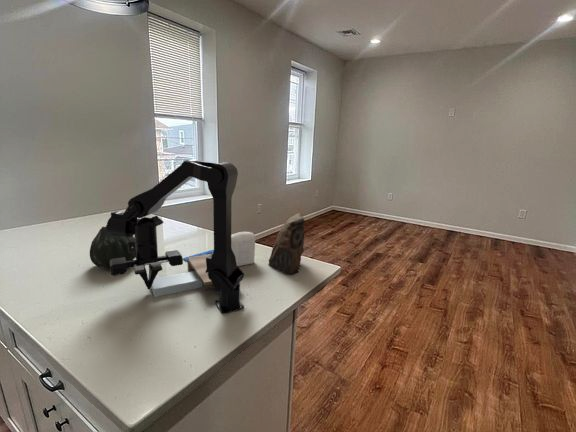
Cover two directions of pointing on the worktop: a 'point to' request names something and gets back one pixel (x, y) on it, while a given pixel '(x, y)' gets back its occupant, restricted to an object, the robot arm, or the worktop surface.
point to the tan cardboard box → (200, 269)
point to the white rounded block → (243, 247)
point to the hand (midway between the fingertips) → (149, 288)
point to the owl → (289, 246)
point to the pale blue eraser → (175, 283)
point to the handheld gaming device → (200, 254)
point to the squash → (109, 248)
